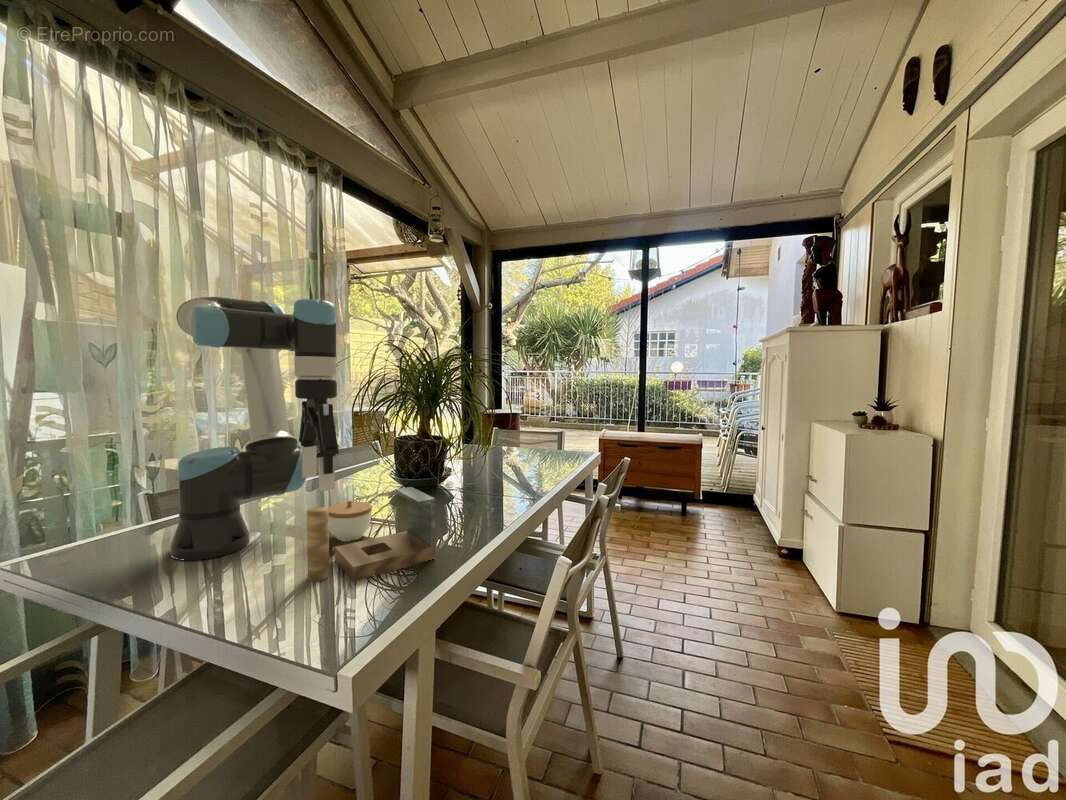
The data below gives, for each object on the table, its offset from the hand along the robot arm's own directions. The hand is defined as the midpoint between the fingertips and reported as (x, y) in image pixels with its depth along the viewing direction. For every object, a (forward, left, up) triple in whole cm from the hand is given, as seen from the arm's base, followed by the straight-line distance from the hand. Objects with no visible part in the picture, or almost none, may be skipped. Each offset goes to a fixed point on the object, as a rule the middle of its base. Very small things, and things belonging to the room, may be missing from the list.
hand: (317, 483), depth 90 cm
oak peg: (0, 0, -20) cm, 20 cm away
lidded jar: (+12, +19, -20) cm, 30 cm away
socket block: (+14, 0, -20) cm, 24 cm away
